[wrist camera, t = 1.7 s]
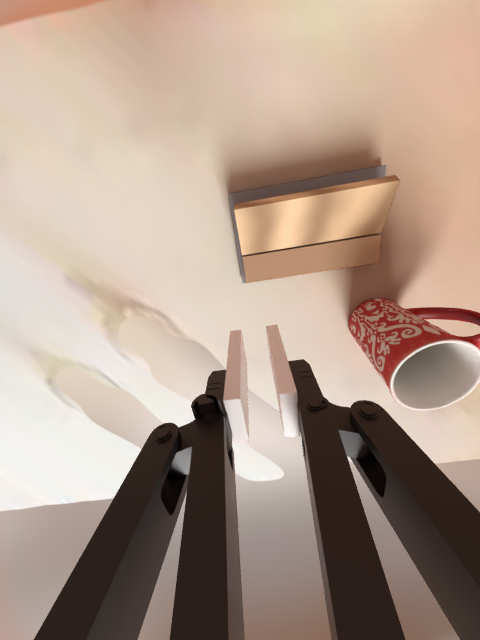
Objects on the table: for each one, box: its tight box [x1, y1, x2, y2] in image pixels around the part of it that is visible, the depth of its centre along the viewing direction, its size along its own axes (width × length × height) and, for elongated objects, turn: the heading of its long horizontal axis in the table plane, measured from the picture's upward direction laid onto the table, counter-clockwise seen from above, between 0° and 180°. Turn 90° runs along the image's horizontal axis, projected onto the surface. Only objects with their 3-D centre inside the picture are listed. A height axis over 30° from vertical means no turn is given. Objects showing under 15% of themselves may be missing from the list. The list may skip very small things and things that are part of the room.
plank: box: [234, 175, 400, 255], centre depth 27 cm, size 17×6×1 cm, turn 99°
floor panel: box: [229, 165, 386, 283], centre depth 30 cm, size 18×11×2 cm, turn 99°
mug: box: [349, 298, 480, 411], centre depth 30 cm, size 13×9×14 cm
